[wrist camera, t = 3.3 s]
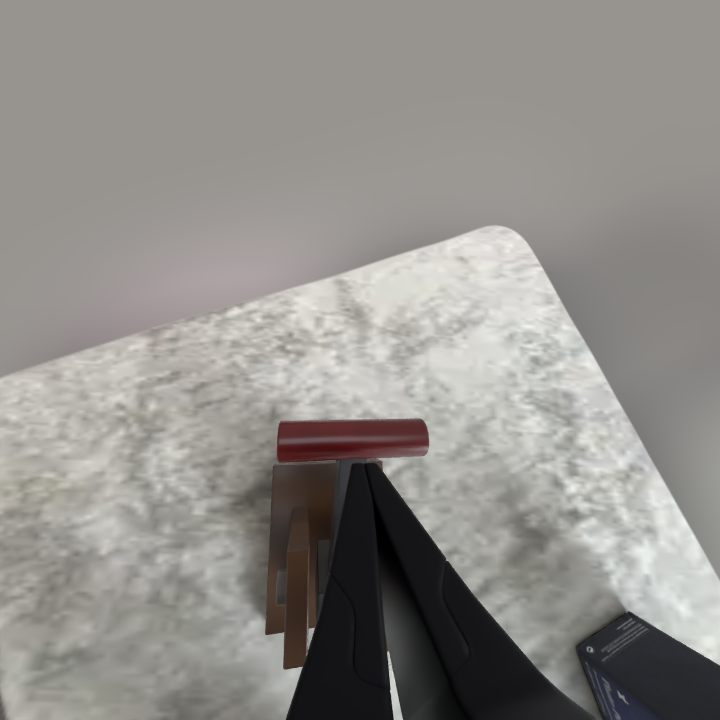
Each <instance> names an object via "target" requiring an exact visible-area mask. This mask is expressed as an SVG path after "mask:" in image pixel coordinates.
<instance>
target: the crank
mask: <svg viewBox="0 0 720 720" xmlns="http://www.w3.org/2000/svg"><path fill="white" fill-rule="evenodd" d="M428 448H429V434H428V429H427V426H426V424H425V422H424V421H423V420H422V419H364V420H309V421H281V422H280V423H279V427H278V436H277V460H278V462H280V463H281V462H303V461H325V460H336V468H335V480H334V492H333V504H332V517H331V529H330V540H320V541H317V549H316V567H315V593H316V623H317V620H318V617H319V613H320V609H321V604H322V600H323V596H324V592H325V587H326V583H327V578H328V575H329V569H330V564H331V559H332V555H333V550H334V545H335V541H336V536H337V531H338V526H339V522H340V517H341V512H342V507H343V503H344V498H345V493H346V488H347V484H348V479H349V474H350V469H351V465H352V464H353V463H363V464H365V463H368V459H370V458H392V457H414V456H424V455H426V453H427V451H428Z"/></svg>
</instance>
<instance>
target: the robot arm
mask: <svg viewBox="0 0 720 720" xmlns="http://www.w3.org/2000/svg"><path fill="white" fill-rule="evenodd" d="M385 633H386V636H385ZM386 638H387V643H388V648H389V653H390V658H391V663H392V668H393V672H394V677H395V682H396V687H397V692H398V697H399V702H400V707H401V712H402V717H403V720H598V719H597V718H595V717H594V716H593V715H591V714H590V713H589V712H587V711H586V710H585V709H583V708H582V707H580V706H579V705H578V704H576V703H575V702H574V701H572V700H571V699H570V698H568V697H567V696H566V695H565V694H564V693H562V692H561V691H560V690H559V689H558V688H556V687H555V686H554V685H553V684H552V683H551V682H550V681H549V680H548V679H547V678H546V677H545V676H544V675H543V674H542V673H541V672H540V671H539V670H538V669H537V668H536V667H535V665H534V664H533V663H532V662H531V661H530V660H529V659H528V658H527V656H526V655H525V654H524V653H523V652H522V651H521V649H520V648H519V647H518V646H517V645H516V644H515V643H514V641H513V640H512V639H511V638H510V637H509V636H508V634H507V633H506V632H505V631H504V630H503V629H502V628H501V626H500V625H499V624H498V623H497V622H496V621H495V619H494V618H493V617H492V616H491V615H490V614H489V613H488V611H487V610H486V609H485V608H484V607H483V605H482V604H481V603H480V602H479V601H478V599H477V598H476V597H475V596H474V595H473V593H472V592H471V591H470V590H469V588H468V587H467V586H466V584H465V583H464V582H463V580H462V579H461V578H460V576H459V575H458V574H457V572H456V571H455V570H454V568H453V567H452V566H451V564H450V563H449V561H446V557H445V556H444V555H443V553H442V552H441V551H440V549H439V548H438V547H437V545H436V544H435V542H434V541H433V540H432V538H431V537H430V536H429V534H428V533H427V531H426V530H425V529H424V527H423V526H422V525H421V523H420V522H419V521H418V519H417V518H416V516H415V515H414V514H413V512H412V511H411V510H410V508H409V507H408V505H407V504H406V503H405V501H404V500H403V499H402V497H401V496H400V494H399V493H398V492H397V490H396V489H395V488H394V486H393V485H392V484H391V482H390V481H389V479H388V478H387V477H386V475H385V474H384V473H383V471H382V470H381V468H380V467H379V466H378V464H377V463H365V464H363V463H353V464H352V465H351V469H350V474H349V479H348V484H347V488H346V493H345V498H344V503H343V507H342V512H341V517H340V522H339V526H338V531H337V536H336V541H335V545H334V550H333V555H332V559H331V564H330V569H329V575H328V578H327V583H326V587H325V592H324V596H323V600H322V604H321V609H320V613H319V617H318V620H317V623H316V627H315V630H314V633H313V637H312V640H311V643H310V646H309V650H308V653H307V656H306V659H305V662H304V665H303V668H302V671H301V674H300V677H299V680H298V683H297V687H296V690H295V693H294V696H293V699H292V702H291V705H290V708H289V711H288V714H287V717H286V720H394V719H393V710H392V701H391V694H390V679H389V668H388V658H387V647H386Z"/></svg>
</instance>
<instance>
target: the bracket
mask: <svg viewBox="0 0 720 720" xmlns="http://www.w3.org/2000/svg"><path fill="white" fill-rule="evenodd" d="M368 463H377V464H378V466H379V467H380V468H381V470H382V471H383V467H382V461H381V460H378V459H372V460H368ZM335 468H336V461H328V462H306V463H284V464H275V465H274V466H273V481H272V502H271V523H270V544H269V566H268V587H267V608H266V629H265V634H266V635H270V634H277V633H283V632H285V633H284V662H283V668H284V669H285V670H286V669H291V668H297V667H302V666H303V665H304V662H305V659H306V656H307V653H308V629H309V628H315V627H316V593H315V567H316V549H317V541H320V540H330V529H331V517H332V504H333V492H334V480H335ZM385 636H386V633H385ZM386 647H387V651H389V648H388V643H387V638H386Z"/></svg>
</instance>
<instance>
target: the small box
mask: <svg viewBox="0 0 720 720" xmlns="http://www.w3.org/2000/svg"><path fill="white" fill-rule="evenodd" d="M577 651H578V654H579V656H580V659H581V662H582V664H583V667H584V669H585V672H586V675H587V677H588V680H589V682H590V685H591V687H592V690H593V692H594V695H595V698H596V700H597V703H598V705H599V708H600V710H601V713H602V716H603V718H604V720H720V665H718V664H716V663H715V662H713V661H711V660H710V659H708V658H706V657H704V656H703V655H701V654H700V653H698V652H696V651H694V650H693V649H691V648H689V647H687V646H686V645H684V644H682V643H681V642H679V641H677V640H675V639H674V638H672V637H670V636H669V635H667V634H666V633H664V632H662V631H661V630H659V629H657V628H656V627H654V626H652V625H651V624H649V623H648V622H646V621H644V620H643V619H641V618H639V617H638V616H636V615H635V614H633V613H631V612H627V613H625V614H624V615H623V616H622V617H620V618H619V619H617V620H616V621H614V622H613V623H612V624H610V625H609V626H607V627H606V628H604V629H603V630H601V631H599V632H598V633H597V634H595V635H592V636H591V637H590V638H589V639H587V640H586V641H584V642H583V643H582V644H581V645H579V646H578V647H577Z"/></svg>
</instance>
